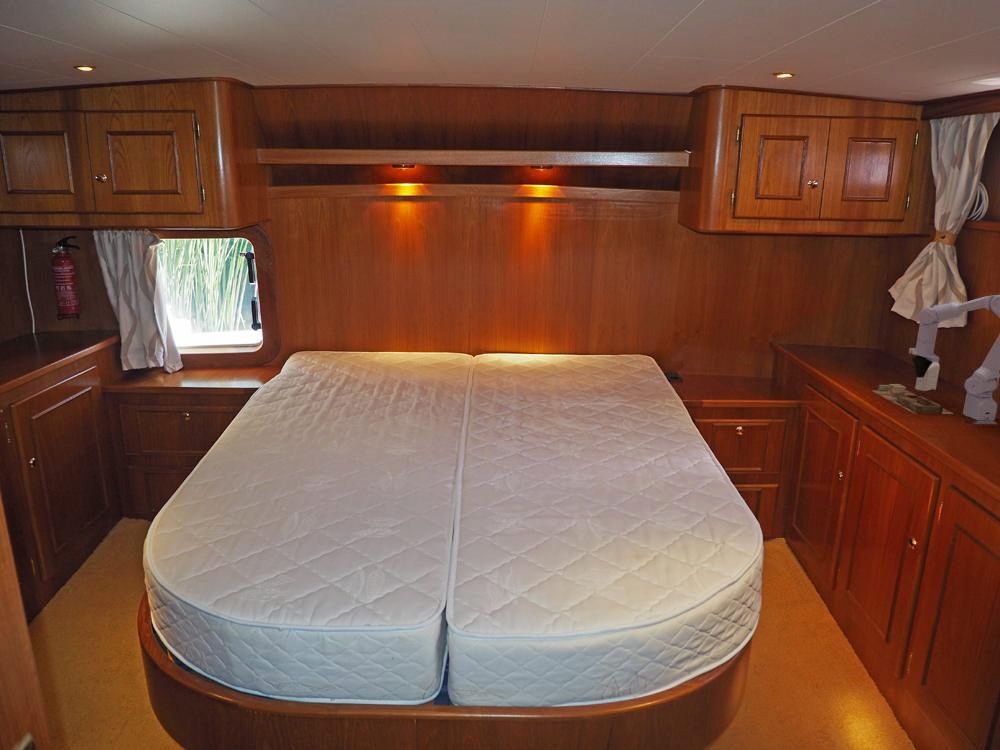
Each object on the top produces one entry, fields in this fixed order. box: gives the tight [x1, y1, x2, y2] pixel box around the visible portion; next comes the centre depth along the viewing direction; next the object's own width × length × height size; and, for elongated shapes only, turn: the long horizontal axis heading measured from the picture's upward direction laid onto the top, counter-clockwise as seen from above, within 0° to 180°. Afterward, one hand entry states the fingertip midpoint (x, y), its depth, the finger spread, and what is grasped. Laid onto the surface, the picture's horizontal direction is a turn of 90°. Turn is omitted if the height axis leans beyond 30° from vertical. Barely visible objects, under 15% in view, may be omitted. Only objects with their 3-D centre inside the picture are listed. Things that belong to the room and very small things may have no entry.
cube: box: [888, 383, 907, 397], centre depth 265 cm, size 4×4×4 cm
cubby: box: [897, 395, 944, 415], centre depth 252 cm, size 13×8×2 cm, turn 2°
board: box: [870, 384, 954, 415], centre depth 259 cm, size 28×14×4 cm, turn 2°
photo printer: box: [914, 363, 940, 392], centre depth 275 cm, size 10×4×12 cm, turn 125°
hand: (919, 377), depth 260 cm, fingers closed
